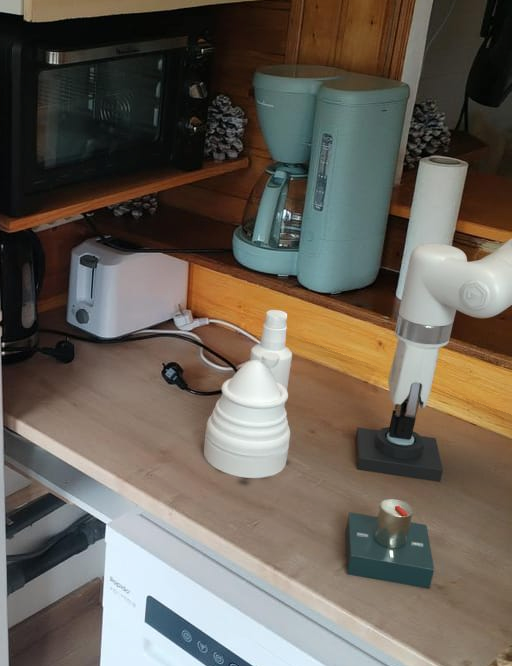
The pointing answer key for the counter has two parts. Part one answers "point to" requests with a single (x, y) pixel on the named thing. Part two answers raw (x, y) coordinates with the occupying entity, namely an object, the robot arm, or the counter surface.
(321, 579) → the counter surface
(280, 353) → the spray bottle
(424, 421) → the counter surface
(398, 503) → the dial
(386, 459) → the button base
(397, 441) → the light blue button cap
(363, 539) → the dial panel
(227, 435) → the honey pot
